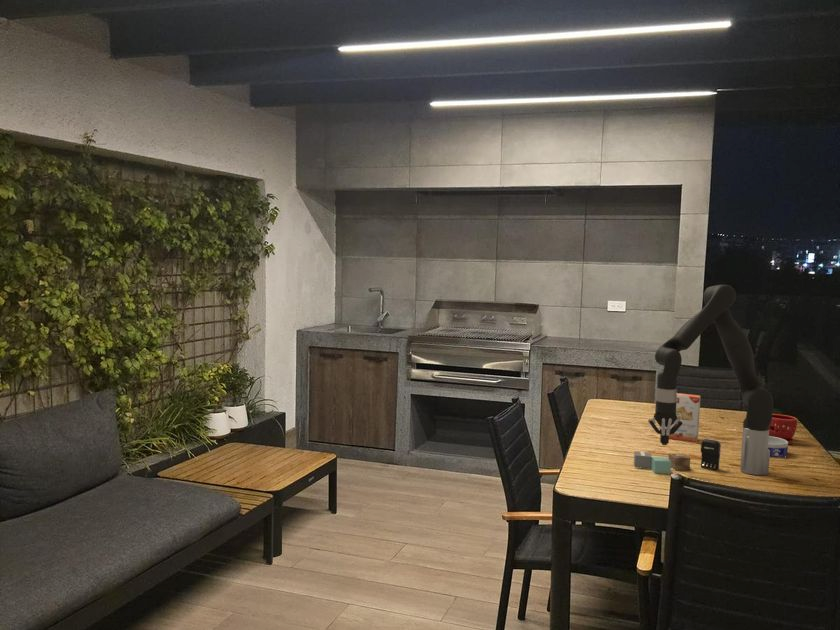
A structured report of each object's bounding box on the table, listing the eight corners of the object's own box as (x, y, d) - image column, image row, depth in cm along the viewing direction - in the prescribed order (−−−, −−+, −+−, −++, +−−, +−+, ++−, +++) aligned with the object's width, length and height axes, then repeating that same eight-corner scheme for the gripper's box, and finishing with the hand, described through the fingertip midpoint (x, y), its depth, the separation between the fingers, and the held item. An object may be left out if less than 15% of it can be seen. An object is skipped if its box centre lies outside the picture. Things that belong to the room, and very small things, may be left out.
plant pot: (799, 446, 316) (801, 420, 315) (768, 444, 319) (769, 418, 318) (790, 439, 329) (792, 414, 328) (760, 437, 332) (761, 412, 331)
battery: (698, 467, 278) (700, 439, 277) (701, 465, 281) (703, 437, 280) (716, 471, 274) (718, 442, 273) (720, 469, 277) (721, 440, 276)
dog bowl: (765, 459, 295) (766, 444, 294) (739, 449, 309) (740, 435, 309) (795, 457, 299) (796, 443, 298) (768, 447, 313) (769, 434, 313)
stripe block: (649, 465, 280) (650, 452, 280) (650, 469, 275) (651, 456, 274) (633, 463, 282) (634, 451, 281) (634, 468, 276) (635, 454, 276)
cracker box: (664, 438, 325) (666, 393, 323) (666, 435, 330) (668, 391, 328) (696, 442, 318) (699, 397, 316) (698, 440, 323) (700, 395, 322)
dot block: (682, 466, 280) (683, 453, 280) (689, 470, 274) (690, 457, 274) (668, 466, 280) (668, 453, 279) (674, 470, 274) (675, 457, 274)
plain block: (666, 469, 274) (667, 457, 274) (670, 474, 268) (671, 461, 268) (650, 469, 275) (651, 456, 275) (654, 473, 269) (654, 460, 269)
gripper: (680, 398, 273) (678, 442, 274) (646, 397, 274) (644, 441, 275) (686, 402, 265) (684, 447, 267) (651, 401, 266) (649, 446, 267)
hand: (664, 444), depth 271 cm, fingers closed
